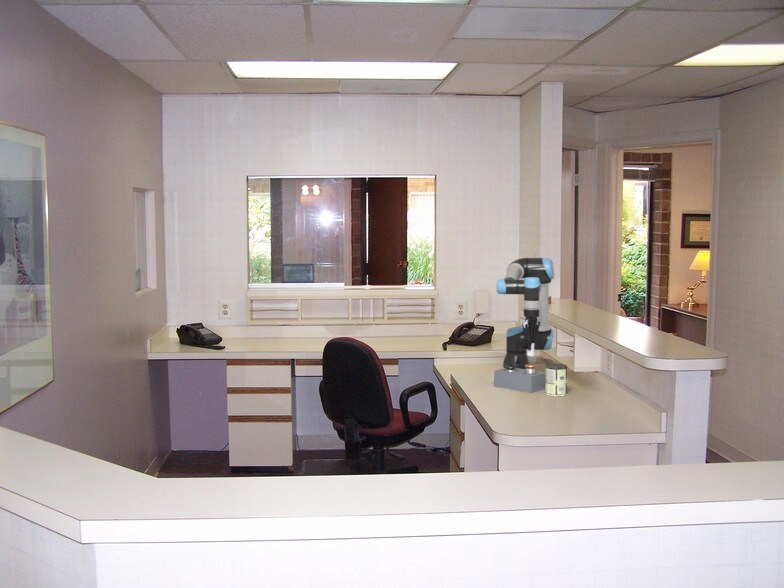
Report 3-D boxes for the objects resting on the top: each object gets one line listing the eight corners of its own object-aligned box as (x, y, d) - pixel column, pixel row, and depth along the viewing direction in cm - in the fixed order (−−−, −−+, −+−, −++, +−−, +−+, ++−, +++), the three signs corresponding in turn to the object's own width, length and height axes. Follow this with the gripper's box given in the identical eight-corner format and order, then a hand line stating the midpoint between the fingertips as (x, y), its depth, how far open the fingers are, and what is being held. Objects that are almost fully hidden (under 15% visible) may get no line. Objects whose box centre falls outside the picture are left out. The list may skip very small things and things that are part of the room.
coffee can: (551, 390, 351) (552, 362, 350) (570, 394, 344) (571, 365, 343) (540, 394, 343) (541, 365, 342) (559, 397, 336) (560, 368, 335)
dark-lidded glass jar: (509, 381, 367) (509, 364, 366) (517, 382, 363) (517, 366, 362) (503, 382, 363) (503, 366, 362) (511, 384, 359) (511, 367, 358)
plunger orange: (528, 380, 358) (529, 363, 357) (537, 381, 354) (538, 364, 354) (523, 381, 354) (523, 364, 354) (532, 383, 351) (532, 366, 350)
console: (510, 382, 371) (510, 367, 371) (546, 388, 356) (546, 372, 356) (494, 386, 361) (494, 370, 361) (531, 393, 346) (531, 376, 346)
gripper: (532, 306, 359) (531, 353, 361) (517, 309, 349) (517, 356, 352) (545, 308, 353) (544, 355, 356) (530, 310, 344) (530, 358, 346)
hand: (530, 355), depth 354 cm, fingers closed
